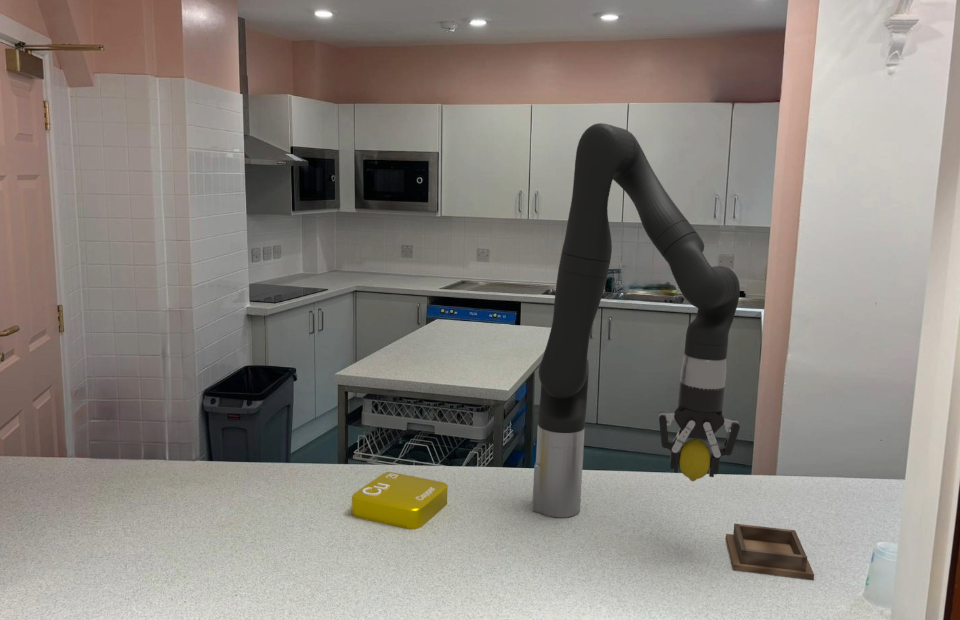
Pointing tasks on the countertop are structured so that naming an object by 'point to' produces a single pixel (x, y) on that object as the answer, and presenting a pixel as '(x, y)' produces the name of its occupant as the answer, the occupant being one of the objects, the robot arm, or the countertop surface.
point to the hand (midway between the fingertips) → (693, 473)
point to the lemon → (694, 459)
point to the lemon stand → (768, 551)
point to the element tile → (400, 500)
